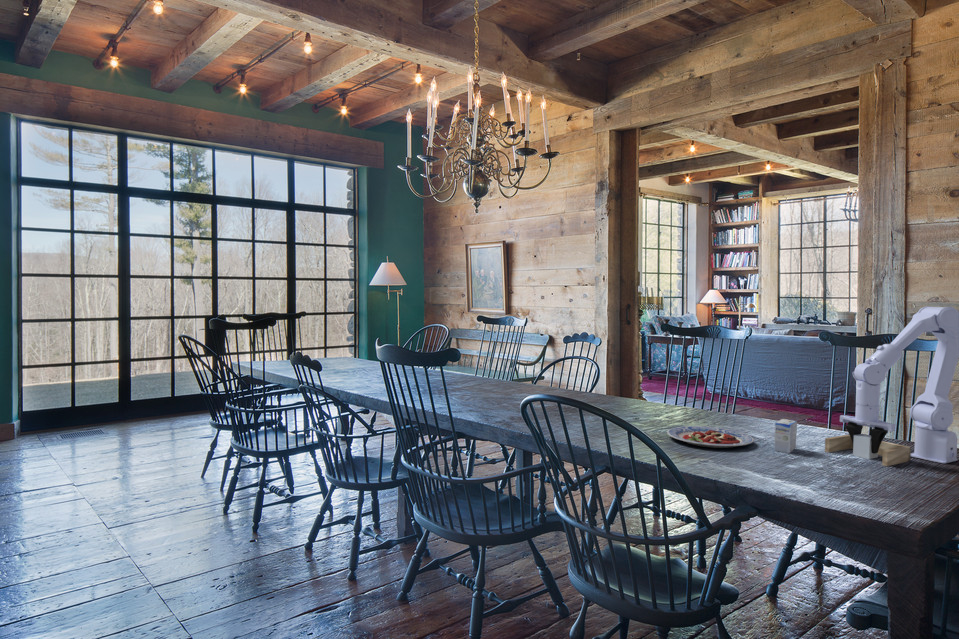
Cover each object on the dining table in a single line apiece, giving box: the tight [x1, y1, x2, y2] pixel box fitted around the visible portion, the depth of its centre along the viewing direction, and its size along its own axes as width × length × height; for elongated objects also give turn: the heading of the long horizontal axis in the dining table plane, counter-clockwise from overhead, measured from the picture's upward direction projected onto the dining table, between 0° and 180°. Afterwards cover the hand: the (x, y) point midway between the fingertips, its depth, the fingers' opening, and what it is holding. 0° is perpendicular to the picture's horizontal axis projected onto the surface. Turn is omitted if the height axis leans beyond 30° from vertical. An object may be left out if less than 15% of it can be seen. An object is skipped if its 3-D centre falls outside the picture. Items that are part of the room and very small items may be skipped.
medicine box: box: [773, 418, 798, 454], centre depth 184 cm, size 8×4×9 cm, turn 141°
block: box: [852, 433, 879, 460], centre depth 178 cm, size 4×4×6 cm
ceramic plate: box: [666, 425, 755, 449], centre depth 194 cm, size 26×26×3 cm
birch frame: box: [824, 433, 912, 467], centre depth 178 cm, size 17×12×4 cm
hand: (865, 450), depth 178 cm, fingers closed on block, 4 cm apart
